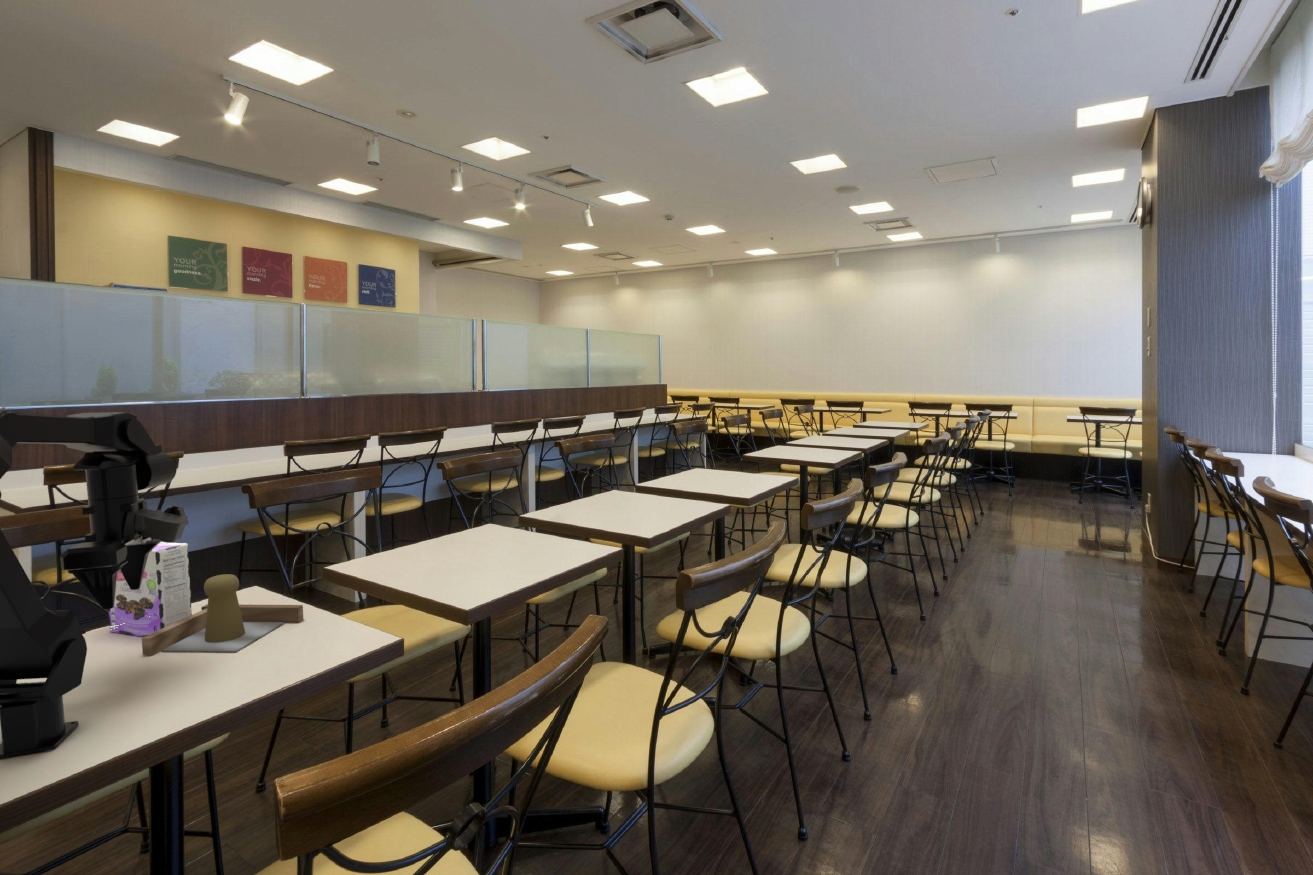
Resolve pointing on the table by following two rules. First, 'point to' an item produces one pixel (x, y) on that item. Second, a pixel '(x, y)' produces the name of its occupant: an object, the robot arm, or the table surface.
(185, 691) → the table surface
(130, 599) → the candy box
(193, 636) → the wood edged grey tray
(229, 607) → the cork
